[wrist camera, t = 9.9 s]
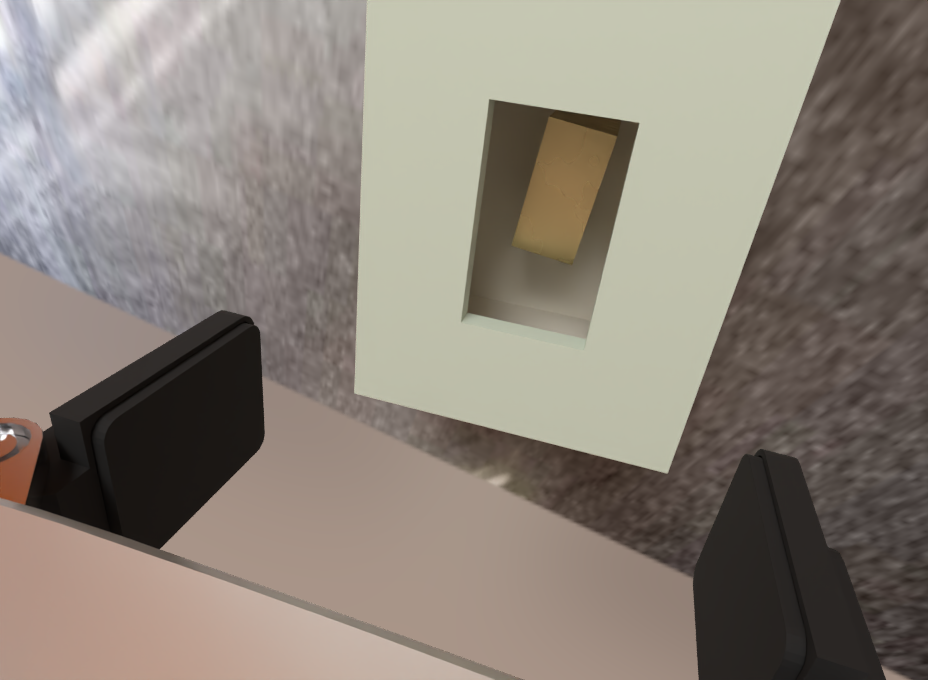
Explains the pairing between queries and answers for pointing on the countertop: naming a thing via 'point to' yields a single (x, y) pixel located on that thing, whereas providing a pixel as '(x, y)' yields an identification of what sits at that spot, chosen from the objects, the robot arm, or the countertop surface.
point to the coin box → (611, 219)
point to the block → (565, 183)
